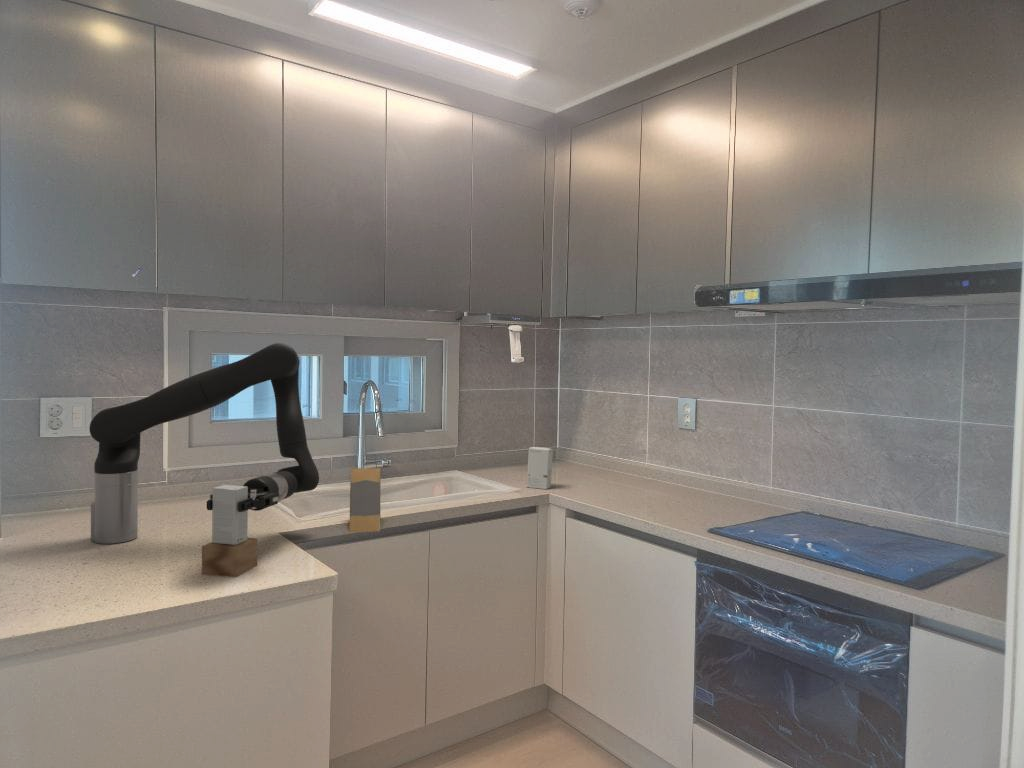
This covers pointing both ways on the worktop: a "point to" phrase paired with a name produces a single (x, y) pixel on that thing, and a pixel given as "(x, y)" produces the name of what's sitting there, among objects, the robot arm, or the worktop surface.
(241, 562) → the walnut block
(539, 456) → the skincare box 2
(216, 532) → the skincare box
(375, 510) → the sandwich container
